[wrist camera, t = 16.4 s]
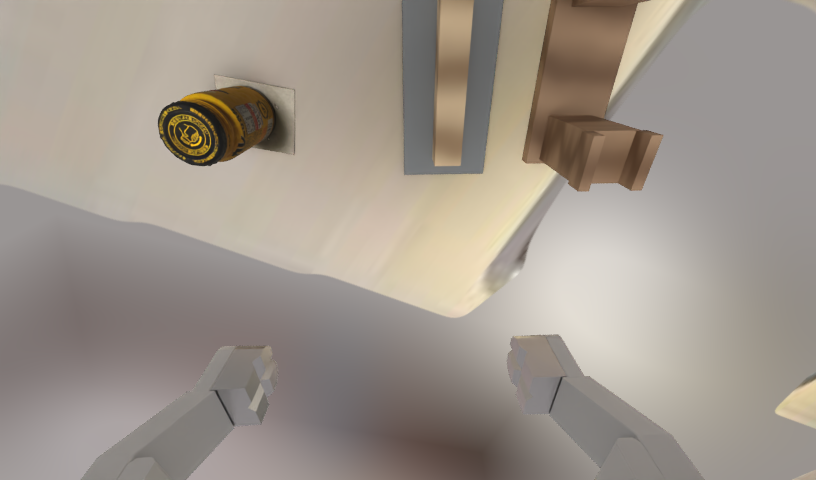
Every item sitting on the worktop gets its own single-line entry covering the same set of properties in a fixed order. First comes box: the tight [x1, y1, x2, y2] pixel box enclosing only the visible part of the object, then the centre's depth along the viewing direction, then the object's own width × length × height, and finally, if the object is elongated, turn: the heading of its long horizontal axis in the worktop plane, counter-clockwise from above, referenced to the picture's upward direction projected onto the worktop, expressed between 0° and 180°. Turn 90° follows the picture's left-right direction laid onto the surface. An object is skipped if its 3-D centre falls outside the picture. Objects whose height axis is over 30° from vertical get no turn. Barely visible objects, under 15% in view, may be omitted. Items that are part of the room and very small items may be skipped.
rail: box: [432, 0, 474, 166], centre depth 32 cm, size 20×3×3 cm, turn 0°
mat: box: [402, 0, 504, 175], centre depth 34 cm, size 24×10×1 cm, turn 0°
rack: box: [522, 0, 663, 191], centre depth 29 cm, size 21×8×12 cm, turn 0°
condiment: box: [158, 75, 295, 166], centre depth 31 cm, size 7×8×12 cm
